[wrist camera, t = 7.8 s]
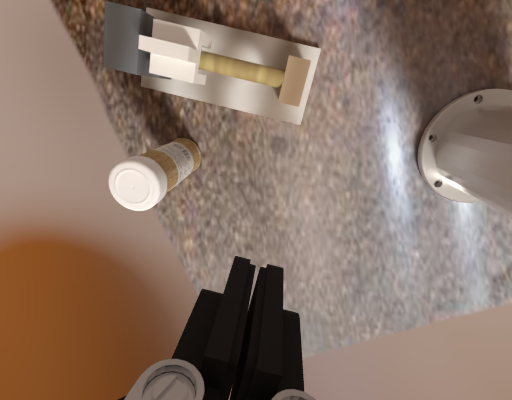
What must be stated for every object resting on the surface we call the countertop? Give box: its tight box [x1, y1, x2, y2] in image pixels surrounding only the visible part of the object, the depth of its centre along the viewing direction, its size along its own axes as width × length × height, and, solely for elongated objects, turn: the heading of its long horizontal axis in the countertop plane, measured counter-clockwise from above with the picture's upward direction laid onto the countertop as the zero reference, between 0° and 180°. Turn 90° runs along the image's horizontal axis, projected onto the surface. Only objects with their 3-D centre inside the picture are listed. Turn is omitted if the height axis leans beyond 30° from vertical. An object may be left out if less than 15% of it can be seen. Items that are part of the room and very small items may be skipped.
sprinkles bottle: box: [108, 138, 201, 211], centre depth 30 cm, size 5×5×13 cm
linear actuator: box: [103, 1, 321, 125], centre depth 28 cm, size 19×8×9 cm, turn 77°
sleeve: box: [138, 18, 212, 85], centre depth 25 cm, size 4×4×6 cm
